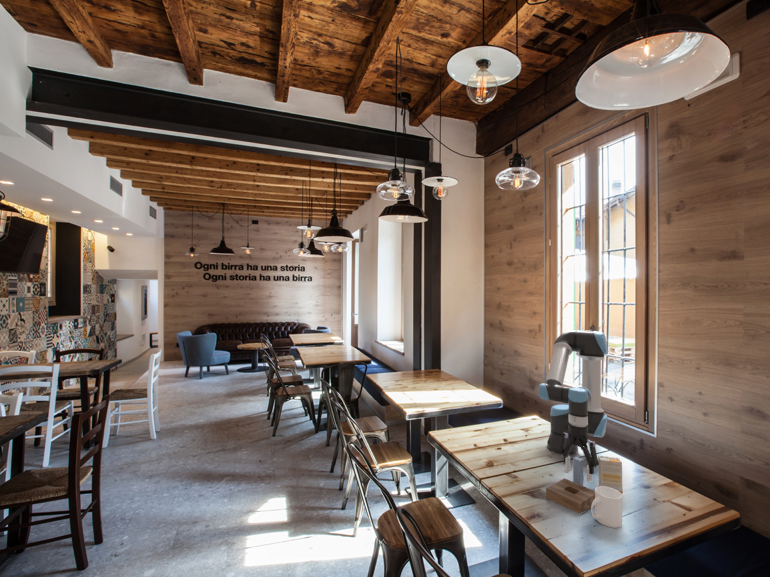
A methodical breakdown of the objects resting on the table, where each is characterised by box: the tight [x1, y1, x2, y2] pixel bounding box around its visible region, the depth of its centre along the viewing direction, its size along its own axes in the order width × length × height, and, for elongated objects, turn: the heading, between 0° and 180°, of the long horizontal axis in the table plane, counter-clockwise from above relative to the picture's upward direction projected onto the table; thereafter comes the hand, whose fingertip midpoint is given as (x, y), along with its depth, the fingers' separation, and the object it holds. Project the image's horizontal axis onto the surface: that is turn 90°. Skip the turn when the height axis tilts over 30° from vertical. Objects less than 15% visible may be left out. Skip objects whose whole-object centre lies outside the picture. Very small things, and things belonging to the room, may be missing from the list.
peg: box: [572, 456, 585, 487], centre depth 160 cm, size 3×3×12 cm
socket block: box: [545, 477, 595, 515], centre depth 150 cm, size 14×14×4 cm
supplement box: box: [597, 455, 623, 494], centre depth 158 cm, size 8×5×13 cm, turn 71°
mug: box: [590, 485, 623, 529], centre depth 135 cm, size 9×12×11 cm
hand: (578, 476), depth 160 cm, fingers open, 9 cm apart
